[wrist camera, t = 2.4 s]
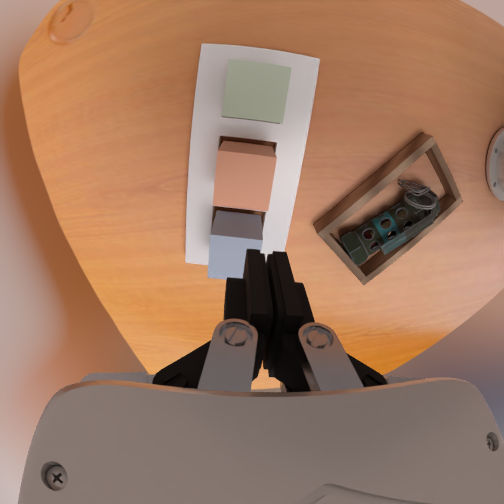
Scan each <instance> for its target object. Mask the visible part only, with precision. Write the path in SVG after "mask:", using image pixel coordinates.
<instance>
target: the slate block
mask: <svg viewBox="0 0 504 504" xmlns="http://www.w3.org/2000/svg"><path fill="white" fill-rule="evenodd" d="M262 243H263V234H262V223H261V215H255V214H246V213H238V212H228V211H219V210H217V211H216V215H215V219H214V222H213V226H212V230H211V234H210V246H209V262H208V278H216V279H226V280H227V277H231V278H243V272H244V264H245V257H246V250H247V249H258V250H260V253H261V249H262Z"/></svg>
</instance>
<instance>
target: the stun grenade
mask: <svg viewBox="0 0 504 504" xmlns="http://www.w3.org/2000/svg"><path fill="white" fill-rule="evenodd" d="M399 181H400V182H401V183H403V184H401V185H400V183H398V185H400V186H401V187H403V188H404V189H406V190H407V191H408V192H406V193H405V196H404V197H403V198H402V199H401V200H400V202H399V203H398V204H396V205H395V206H393V207H391V208H390V209H388V210H387V211H385V212H383V213H382V214H380V215H379V216H377V217H375V218H374V219H372V220H370V221H369V222H367V223H365V224H364V225H363V226H361V227H359V228H357V229H356V230H354V231H349V232H347V233H346V234H344V235H342V236H341V237H340V239H341V241H342V243H343V244H344V246H345V248H346V250H347V251H348V253H349V255H350V257H351V259H352V260H353V262H354V264H355V265H357V266H358V265H360V264H361V263H363V262H365V261H366V260H367V257H368V256H369V255H371V254H372V253H374V252H376V251H377V250H379V249H381V251H382V252H383V254H384V255H386V254H387V253H389V252H390V251H392V250H394V249H395V248H397V247H398V246H400V245H401V244H403V243H405V242H406V241H408V240H409V239H411V238H412V237H414V236H415V235H417V234H418V233H420V232H421V231H423V230H424V229H426V228H427V227H429V226H430V225H432V224H433V223H434V219H435V216H436V215H437V214H438V213H439V211H440V210H441V208H440V204H439V200H438V196H437V195H436V194H435V193H434V192H432V191H431V190H430V187H426V186H423V185H419V184H416V183H412V182H409V181H405V180H400V179H399ZM402 181H404V182H408V183H411V184H415V185H418V186H421V187H423V188H418V187H414V186H410V185H406V184H405V183H404V182H402ZM402 185H405V186H407V187H408V188H410V189H411V190H412V191H410V190H408V189H407V188H405V187H404V186H402ZM411 187H413V188H417V189H412V188H411ZM419 189H421V190H419ZM415 190H417V191H415ZM413 192H415V193H420V194H415V193H413ZM407 193H411V194H408V195H406V194H407ZM417 196H418V197H417ZM398 211H399V213H398V214H397V212H398ZM396 214H397V215H396ZM437 216H438V215H437ZM383 220H385V221H384V223H383V224H381V222H382V221H383ZM405 223H406V224H405ZM380 224H381V225H380ZM404 224H405V225H404ZM368 230H369V231H368ZM390 232H391V233H390ZM389 233H390V235H388V234H389Z"/></svg>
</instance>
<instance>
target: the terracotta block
mask: <svg viewBox="0 0 504 504" xmlns="http://www.w3.org/2000/svg"><path fill="white" fill-rule="evenodd" d="M276 161H277V157H276V154H275V152H274V150H273V148H272V146H266V145H258V144H250V143H242V142H233V141H223V143H222V144H221V146H220V148H219V149H218V152H217V162H216V172H215V183H214V194H213V205H216V206H225V207H234V208H243V209H252V210H260V211H268V209H269V203H270V197H271V191H272V185H273V179H274V173H275V167H276Z"/></svg>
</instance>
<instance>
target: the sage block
mask: <svg viewBox="0 0 504 504" xmlns="http://www.w3.org/2000/svg"><path fill="white" fill-rule="evenodd" d="M291 68H292V67H287V66H281V65H274V64H268V63H260V62H252V61H243V60H232V59H229V64H228V71H227V78H226V85H225V93H224V101H223V109H222V116H224V117H235V118H244V119H252V120H260V121H267V122H274V123H281V124H283V119H284V112H285V106H286V100H287V93H288V87H289V81H290V74H291Z"/></svg>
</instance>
